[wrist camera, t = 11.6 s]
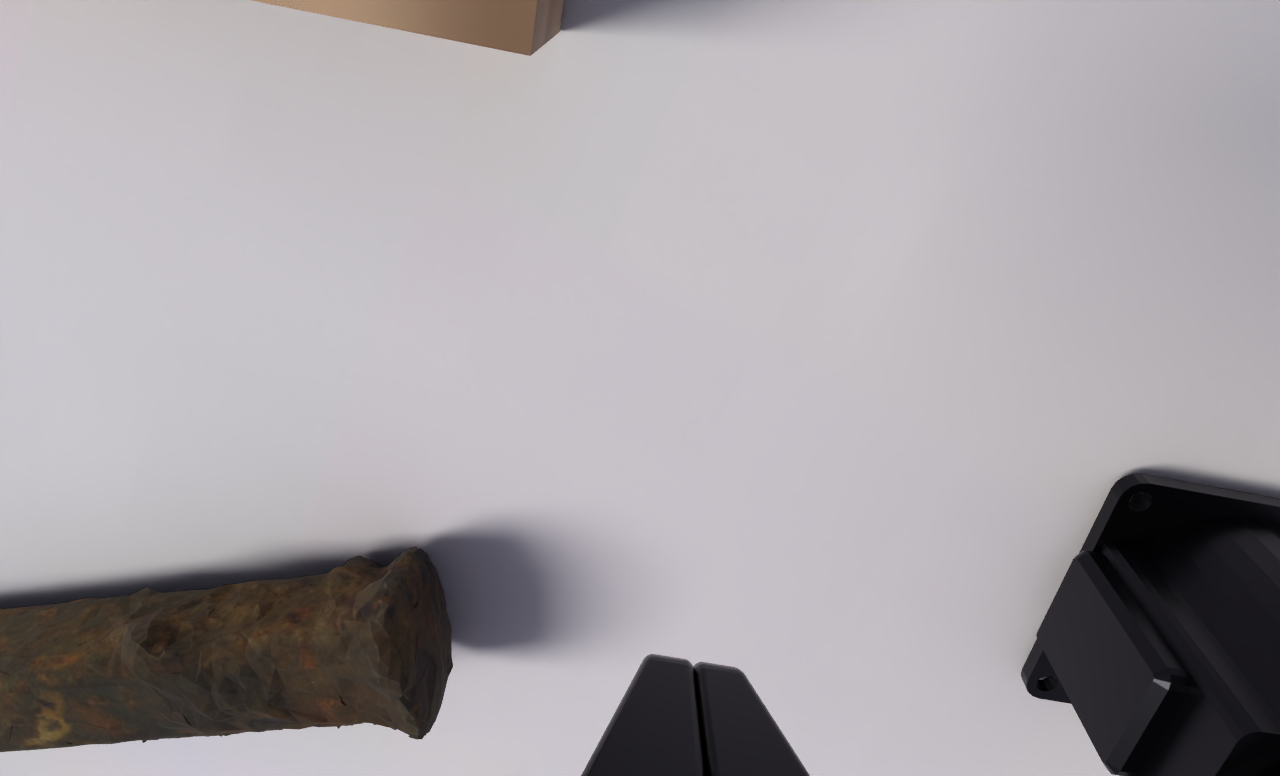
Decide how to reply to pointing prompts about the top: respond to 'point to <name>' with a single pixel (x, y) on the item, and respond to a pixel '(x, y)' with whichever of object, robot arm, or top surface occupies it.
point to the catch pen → (452, 19)
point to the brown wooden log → (229, 658)
